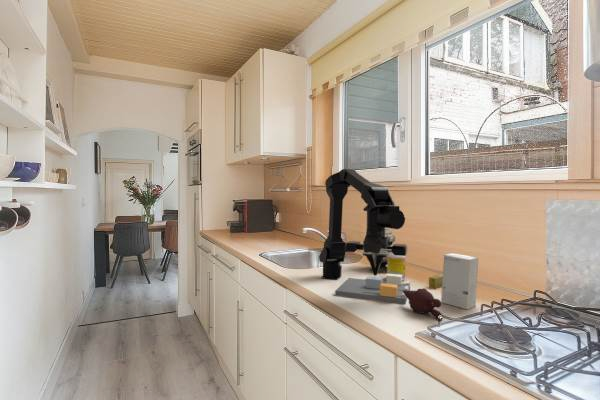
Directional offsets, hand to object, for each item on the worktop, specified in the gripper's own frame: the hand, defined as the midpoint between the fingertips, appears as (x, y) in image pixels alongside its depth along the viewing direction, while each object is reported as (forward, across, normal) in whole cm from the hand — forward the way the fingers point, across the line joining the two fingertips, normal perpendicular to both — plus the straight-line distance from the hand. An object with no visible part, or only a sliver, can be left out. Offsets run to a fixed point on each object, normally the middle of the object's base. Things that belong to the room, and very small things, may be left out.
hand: (375, 275), depth 108 cm
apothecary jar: (+8, -5, +40) cm, 41 cm away
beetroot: (+8, +14, -8) cm, 18 cm away
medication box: (+8, +19, +25) cm, 33 cm away
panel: (+7, -2, +7) cm, 10 cm away
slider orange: (+6, +4, 0) cm, 7 cm away
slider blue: (+6, -2, +7) cm, 9 cm away
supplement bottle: (+8, +3, +27) cm, 28 cm away
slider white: (+6, +4, +14) cm, 16 cm away
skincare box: (+8, +24, +4) cm, 26 cm away
